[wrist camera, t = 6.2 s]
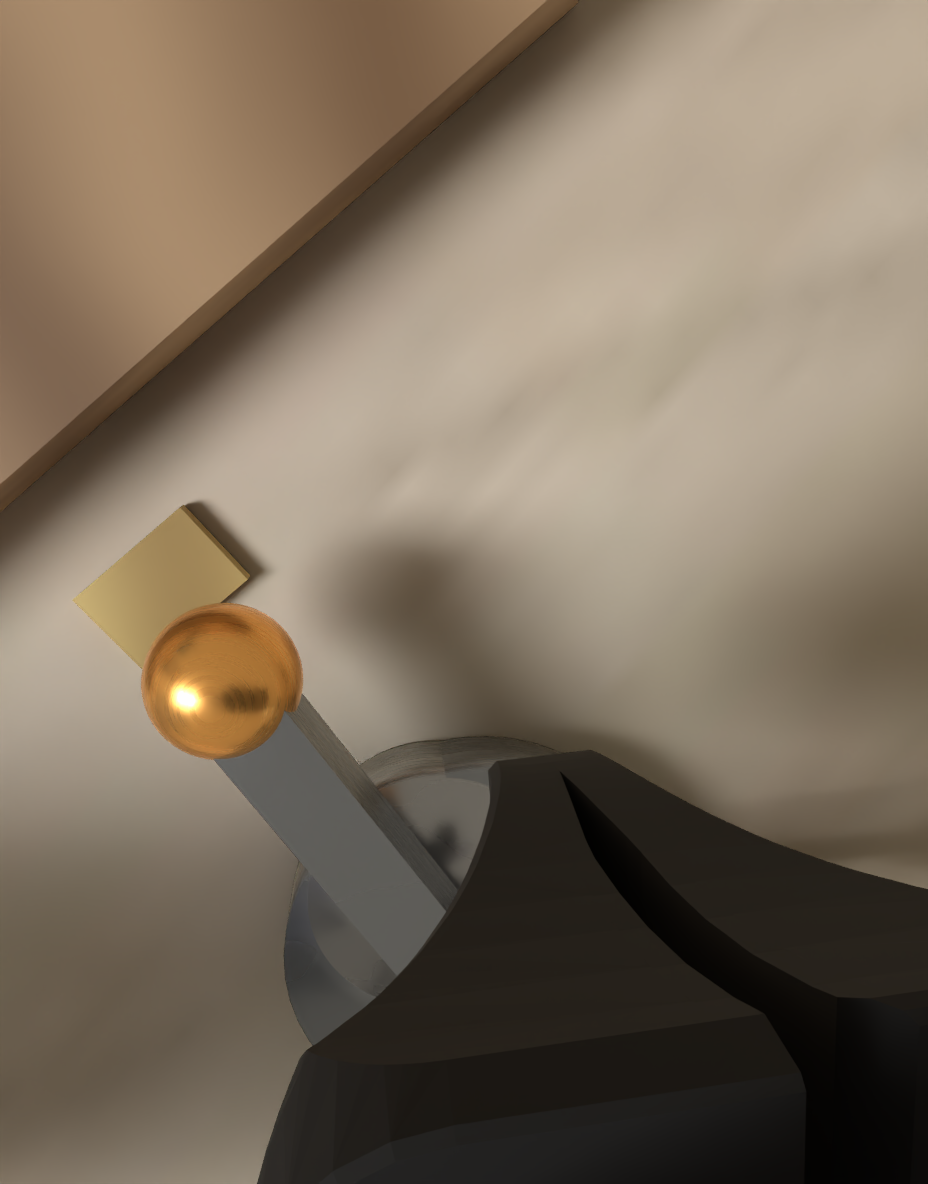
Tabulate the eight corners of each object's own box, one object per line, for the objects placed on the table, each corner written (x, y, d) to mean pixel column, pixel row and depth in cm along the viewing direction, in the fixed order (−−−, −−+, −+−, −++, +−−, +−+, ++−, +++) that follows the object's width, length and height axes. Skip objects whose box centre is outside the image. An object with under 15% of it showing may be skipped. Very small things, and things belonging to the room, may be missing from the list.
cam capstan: (892, 871, 18) (1043, 1018, 14) (315, 1239, 19) (299, 1478, 15) (561, 328, 15) (632, 313, 11) (-120, 801, 16) (-292, 954, 12)
